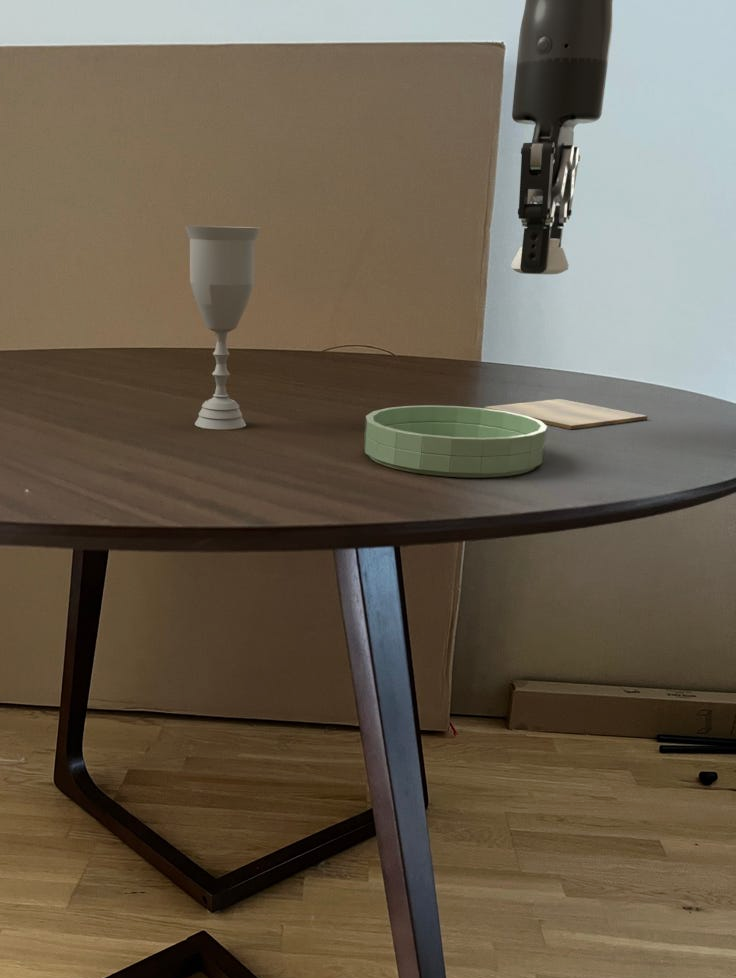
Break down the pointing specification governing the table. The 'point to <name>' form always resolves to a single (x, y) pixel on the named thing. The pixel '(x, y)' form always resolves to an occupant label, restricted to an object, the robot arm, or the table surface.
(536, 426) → the pan
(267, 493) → the table surface
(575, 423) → the mat
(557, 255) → the white jar
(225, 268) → the chalice
